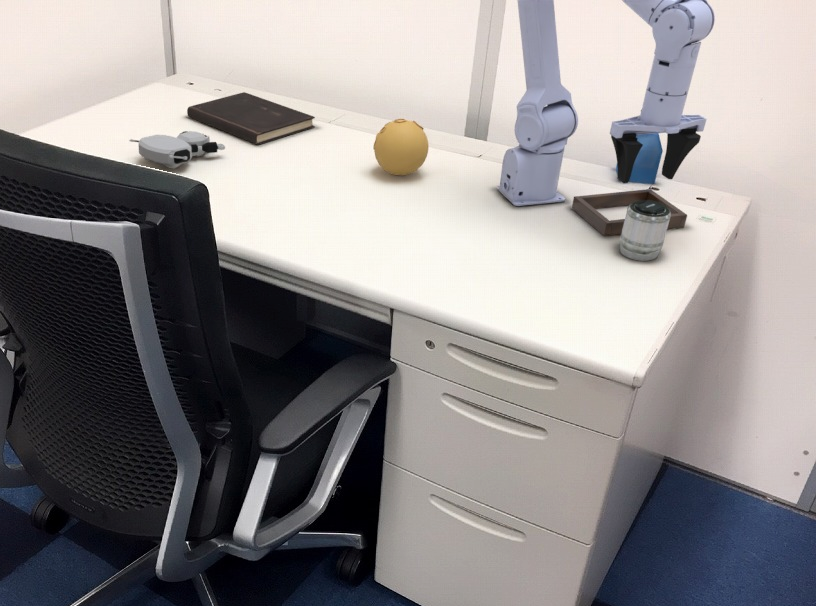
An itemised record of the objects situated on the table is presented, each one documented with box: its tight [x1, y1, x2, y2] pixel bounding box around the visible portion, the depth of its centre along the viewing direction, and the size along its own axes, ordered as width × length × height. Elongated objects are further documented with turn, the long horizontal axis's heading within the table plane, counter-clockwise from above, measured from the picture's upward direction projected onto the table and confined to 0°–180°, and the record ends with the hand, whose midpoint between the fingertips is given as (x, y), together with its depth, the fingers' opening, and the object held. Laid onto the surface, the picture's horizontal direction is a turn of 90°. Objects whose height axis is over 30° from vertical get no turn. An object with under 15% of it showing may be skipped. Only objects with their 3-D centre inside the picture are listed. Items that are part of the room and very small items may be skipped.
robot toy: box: [129, 130, 226, 169], centre depth 162 cm, size 12×4×15 cm
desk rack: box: [571, 188, 688, 237], centre depth 142 cm, size 14×11×2 cm
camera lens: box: [619, 200, 671, 262], centre depth 130 cm, size 6×6×8 cm
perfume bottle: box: [615, 133, 664, 185], centre depth 154 cm, size 6×6×12 cm
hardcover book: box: [186, 91, 316, 146], centre depth 180 cm, size 16×23×2 cm
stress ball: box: [373, 118, 429, 176], centre depth 155 cm, size 10×10×10 cm
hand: (644, 178), depth 132 cm, fingers open, 7 cm apart
